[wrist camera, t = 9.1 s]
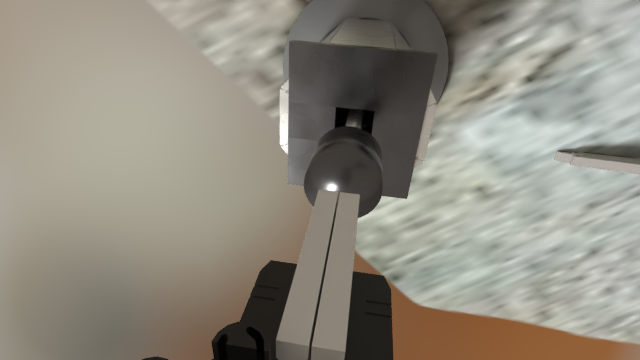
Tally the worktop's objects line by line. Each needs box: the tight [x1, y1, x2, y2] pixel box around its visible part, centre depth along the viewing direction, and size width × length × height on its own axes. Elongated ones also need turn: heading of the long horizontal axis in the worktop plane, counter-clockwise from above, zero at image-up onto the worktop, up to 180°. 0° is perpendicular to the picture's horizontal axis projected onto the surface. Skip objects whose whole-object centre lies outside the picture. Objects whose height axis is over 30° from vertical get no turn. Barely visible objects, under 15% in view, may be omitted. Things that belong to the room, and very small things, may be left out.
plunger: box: [304, 107, 383, 218], centre depth 24 cm, size 8×8×18 cm
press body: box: [280, 17, 438, 199], centre depth 30 cm, size 13×10×15 cm
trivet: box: [283, 0, 449, 104], centre depth 36 cm, size 16×16×1 cm
